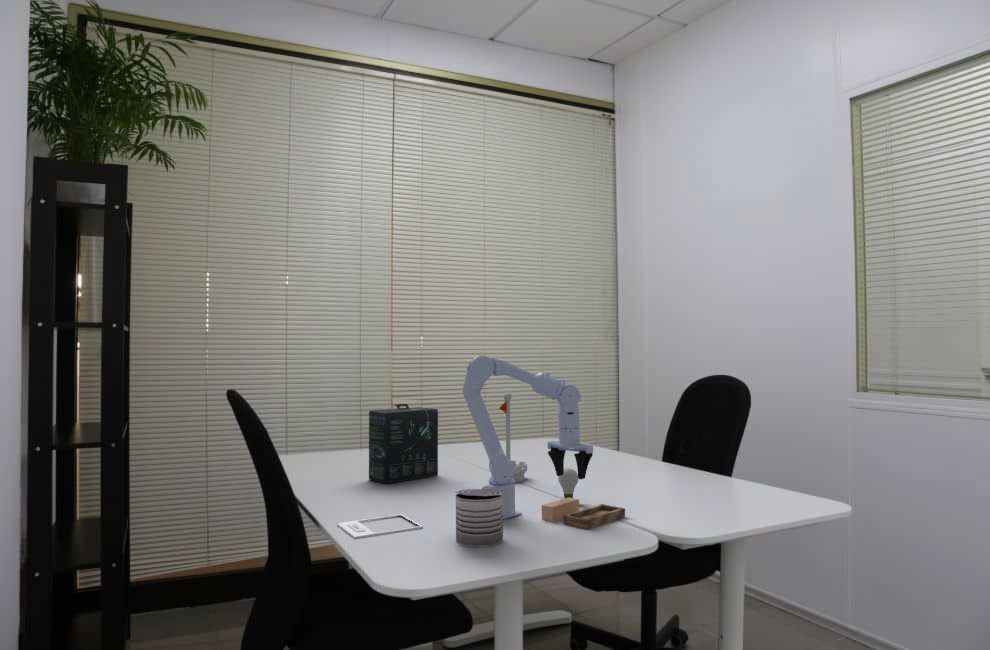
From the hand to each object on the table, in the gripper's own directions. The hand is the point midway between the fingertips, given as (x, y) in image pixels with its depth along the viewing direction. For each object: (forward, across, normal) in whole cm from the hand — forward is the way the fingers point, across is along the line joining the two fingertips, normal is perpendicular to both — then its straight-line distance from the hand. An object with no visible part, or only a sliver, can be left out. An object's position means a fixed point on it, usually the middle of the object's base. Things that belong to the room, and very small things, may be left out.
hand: (570, 477), depth 188 cm
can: (+10, 0, +36) cm, 37 cm away
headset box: (+9, +75, 0) cm, 75 cm away
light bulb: (+10, +9, -9) cm, 16 cm away
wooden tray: (+10, -9, +2) cm, 14 cm away
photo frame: (+9, +28, +45) cm, 53 cm away
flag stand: (+10, +46, -22) cm, 52 cm away
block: (+10, 0, +5) cm, 11 cm away
